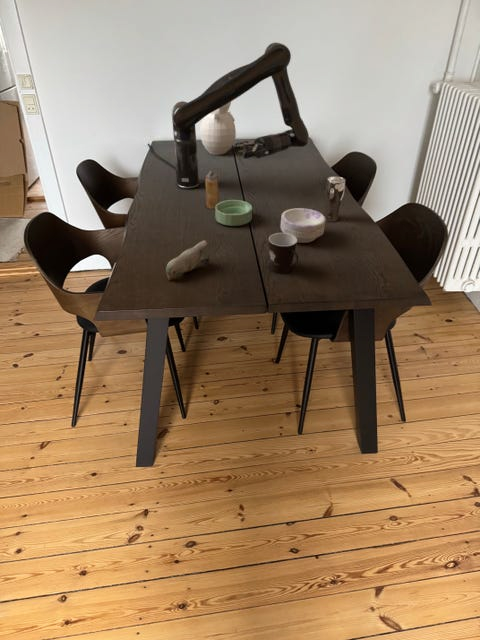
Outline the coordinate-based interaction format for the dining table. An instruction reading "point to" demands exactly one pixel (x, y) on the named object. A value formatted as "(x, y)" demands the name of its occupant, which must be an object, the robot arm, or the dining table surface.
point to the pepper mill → (211, 190)
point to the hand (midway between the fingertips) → (237, 153)
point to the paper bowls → (303, 224)
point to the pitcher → (218, 131)
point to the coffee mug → (282, 252)
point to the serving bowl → (233, 212)
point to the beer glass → (333, 197)
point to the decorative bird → (186, 260)
